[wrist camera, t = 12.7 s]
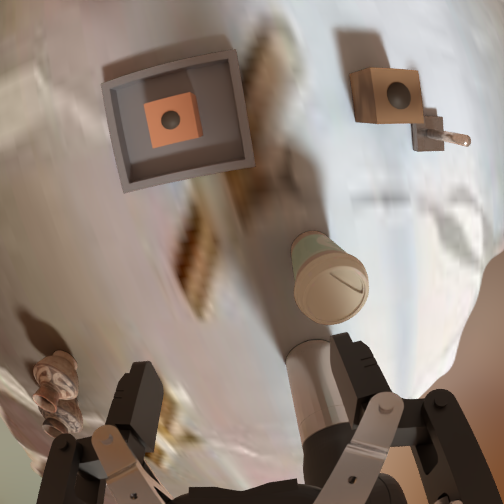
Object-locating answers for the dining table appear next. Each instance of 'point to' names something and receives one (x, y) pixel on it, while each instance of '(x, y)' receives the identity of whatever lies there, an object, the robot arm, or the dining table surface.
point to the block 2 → (387, 96)
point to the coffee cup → (327, 279)
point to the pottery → (58, 394)
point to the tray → (185, 152)
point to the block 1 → (173, 119)
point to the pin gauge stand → (435, 135)
